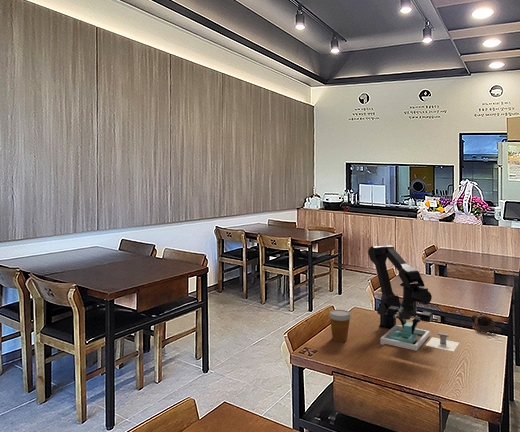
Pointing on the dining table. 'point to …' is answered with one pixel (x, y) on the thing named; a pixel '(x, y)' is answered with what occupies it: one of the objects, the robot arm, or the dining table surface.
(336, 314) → the disposable coffee cup
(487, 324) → the pottery mug
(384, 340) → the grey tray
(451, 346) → the stake board
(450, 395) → the dining table surface
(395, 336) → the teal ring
